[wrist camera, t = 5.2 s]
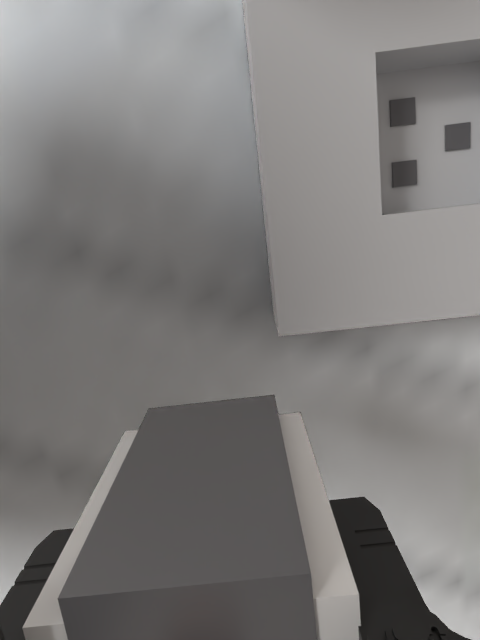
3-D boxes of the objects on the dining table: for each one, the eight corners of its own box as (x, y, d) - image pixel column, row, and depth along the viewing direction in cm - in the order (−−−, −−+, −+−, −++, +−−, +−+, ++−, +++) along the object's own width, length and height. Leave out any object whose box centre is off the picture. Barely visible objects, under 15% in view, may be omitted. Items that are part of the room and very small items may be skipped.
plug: (167, 517, 14) (80, 886, 6) (148, 408, 14) (18, 678, 6) (285, 505, 14) (344, 862, 6) (273, 394, 13) (326, 649, 5)
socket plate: (273, 317, 20) (279, 336, 17) (240, -16, 17) (239, -74, 14) (573, 285, 20) (641, 298, 16) (593, -66, 17) (681, -139, 13)
